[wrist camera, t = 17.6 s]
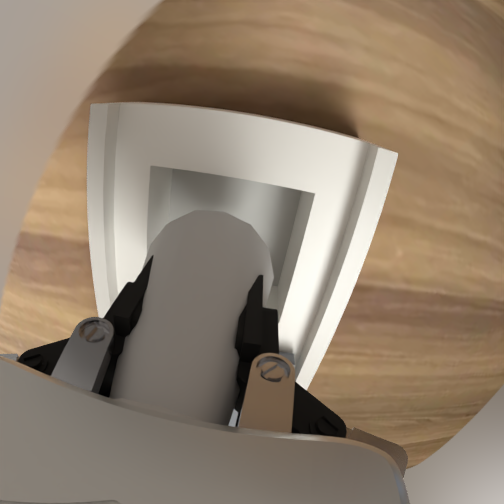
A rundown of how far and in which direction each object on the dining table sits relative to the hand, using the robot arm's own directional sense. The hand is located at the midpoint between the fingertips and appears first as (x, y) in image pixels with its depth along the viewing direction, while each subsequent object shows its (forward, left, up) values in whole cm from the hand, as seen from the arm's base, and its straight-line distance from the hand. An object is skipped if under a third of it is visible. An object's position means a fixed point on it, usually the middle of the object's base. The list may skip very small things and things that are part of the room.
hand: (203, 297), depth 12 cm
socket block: (0, +4, -9) cm, 10 cm away
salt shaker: (0, 0, -4) cm, 4 cm away
